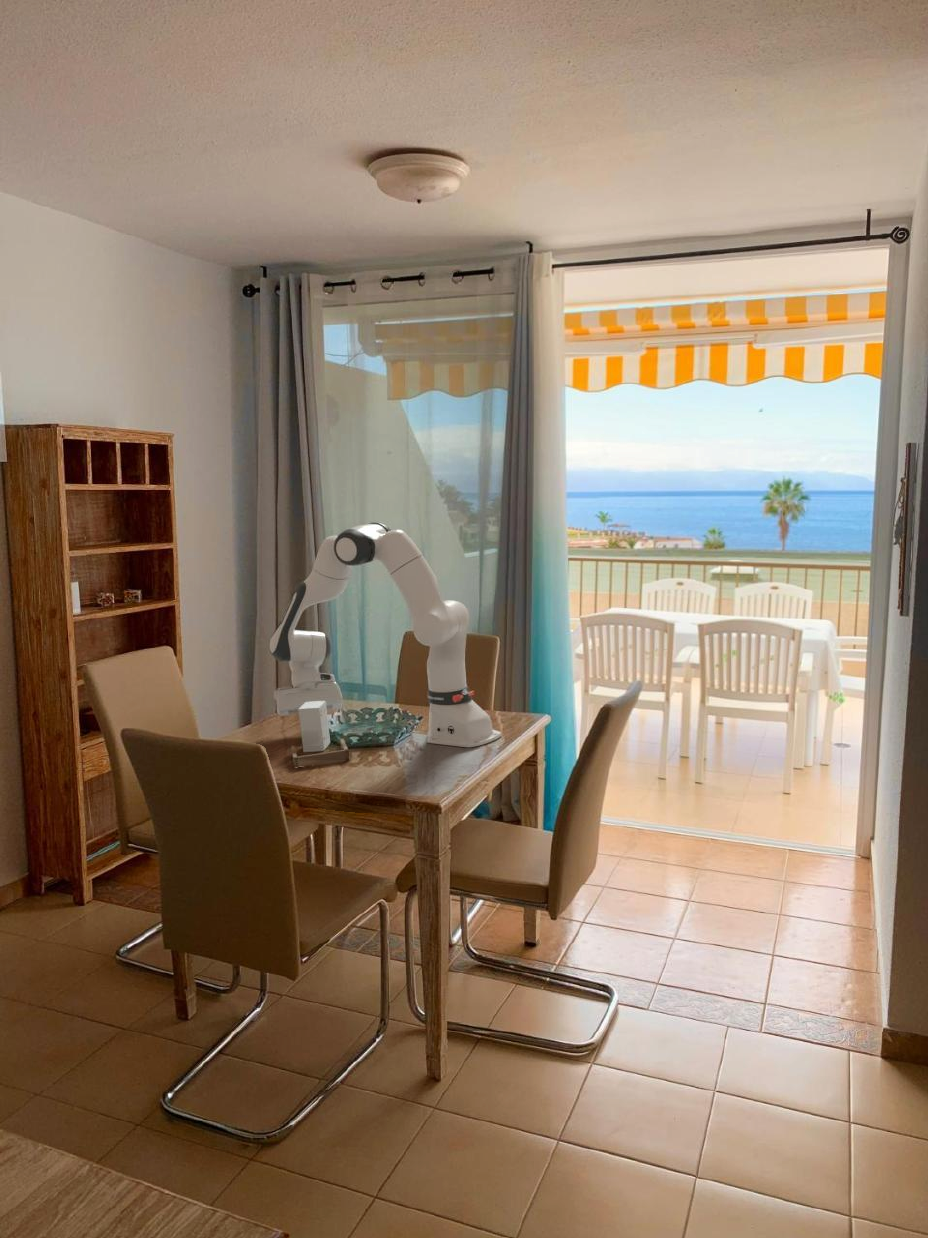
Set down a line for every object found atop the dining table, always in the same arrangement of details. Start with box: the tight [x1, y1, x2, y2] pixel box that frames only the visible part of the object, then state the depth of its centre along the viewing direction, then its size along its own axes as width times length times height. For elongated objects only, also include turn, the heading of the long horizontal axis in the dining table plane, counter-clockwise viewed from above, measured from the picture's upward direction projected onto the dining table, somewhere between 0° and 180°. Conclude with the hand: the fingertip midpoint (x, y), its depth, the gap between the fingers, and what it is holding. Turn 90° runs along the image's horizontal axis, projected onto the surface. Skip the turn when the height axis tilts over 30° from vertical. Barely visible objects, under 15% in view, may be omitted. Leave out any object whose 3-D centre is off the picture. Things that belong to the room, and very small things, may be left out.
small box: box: [298, 701, 331, 753], centre depth 280 cm, size 8×6×13 cm
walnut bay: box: [290, 737, 350, 768], centre depth 270 cm, size 12×15×3 cm
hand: (312, 722), depth 291 cm, fingers closed
